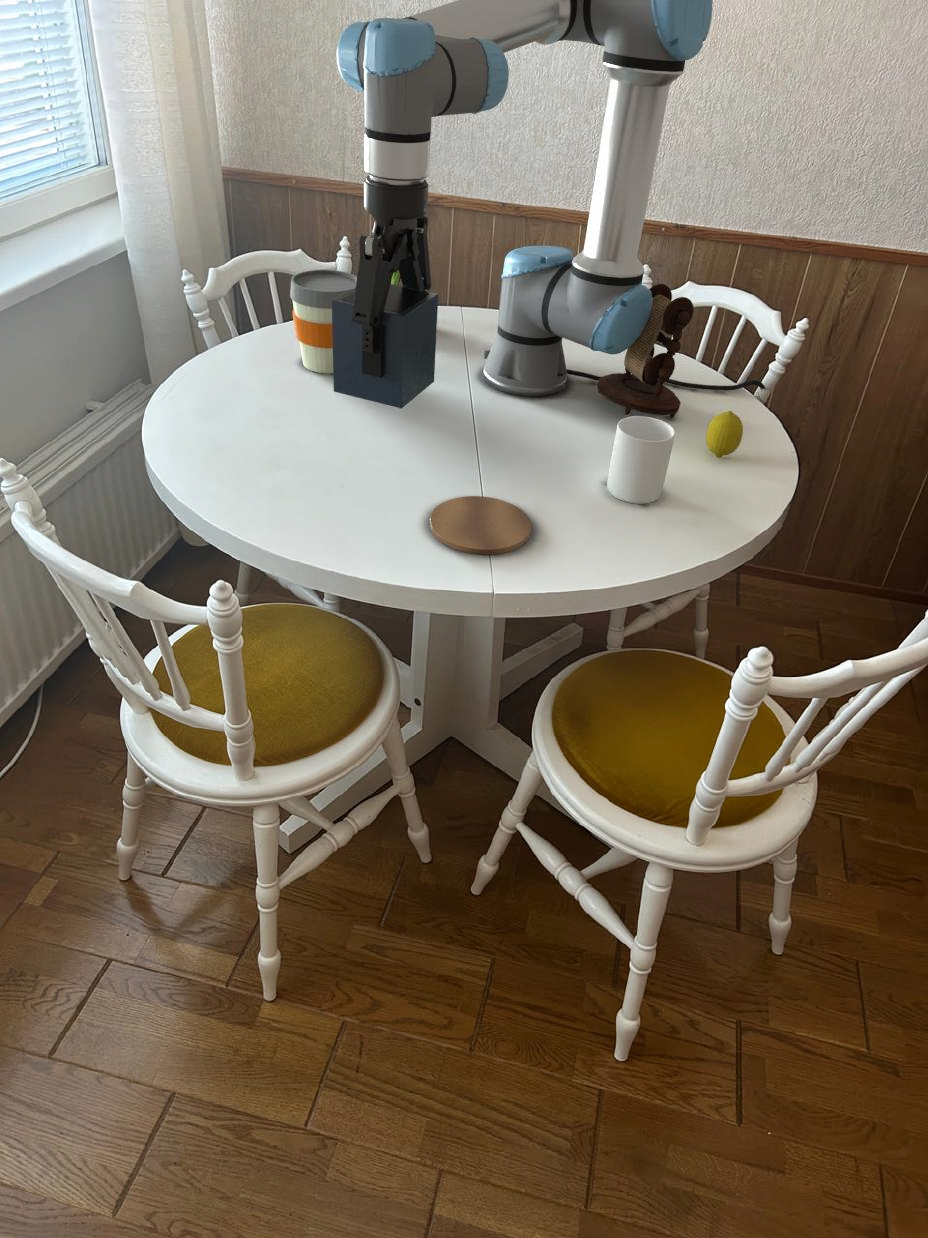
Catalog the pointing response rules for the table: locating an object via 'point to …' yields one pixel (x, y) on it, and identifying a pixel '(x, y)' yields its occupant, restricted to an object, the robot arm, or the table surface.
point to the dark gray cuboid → (387, 347)
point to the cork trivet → (480, 525)
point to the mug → (640, 459)
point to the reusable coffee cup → (317, 313)
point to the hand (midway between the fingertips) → (392, 360)
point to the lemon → (724, 434)
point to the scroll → (651, 359)
